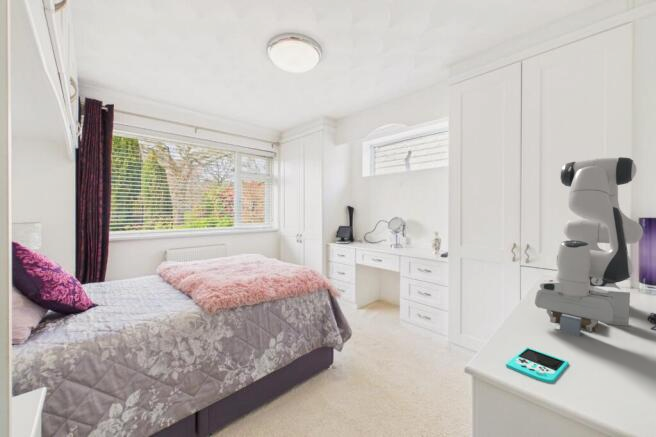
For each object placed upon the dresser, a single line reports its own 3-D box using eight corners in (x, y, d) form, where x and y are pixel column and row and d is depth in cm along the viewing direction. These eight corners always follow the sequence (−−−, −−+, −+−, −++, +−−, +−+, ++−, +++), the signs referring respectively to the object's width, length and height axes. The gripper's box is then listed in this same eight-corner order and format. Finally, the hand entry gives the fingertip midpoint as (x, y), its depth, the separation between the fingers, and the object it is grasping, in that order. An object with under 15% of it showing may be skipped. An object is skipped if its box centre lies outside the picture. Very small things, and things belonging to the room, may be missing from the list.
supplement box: (629, 326, 102) (631, 292, 101) (605, 324, 103) (607, 290, 103) (613, 318, 109) (615, 287, 109) (591, 316, 111) (592, 285, 110)
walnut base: (557, 313, 114) (557, 303, 114) (597, 322, 105) (598, 311, 105) (551, 320, 106) (552, 310, 106) (595, 331, 97) (596, 320, 97)
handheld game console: (504, 367, 74) (504, 362, 74) (526, 350, 84) (526, 345, 84) (550, 387, 66) (550, 381, 66) (568, 365, 76) (569, 360, 76)
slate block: (561, 327, 100) (562, 313, 100) (580, 332, 96) (581, 317, 96) (559, 331, 97) (560, 317, 97) (578, 336, 93) (579, 321, 93)
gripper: (615, 292, 91) (613, 334, 91) (538, 280, 106) (536, 315, 106) (615, 296, 86) (612, 340, 87) (534, 283, 101) (533, 320, 102)
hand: (570, 326), depth 97 cm, fingers open, 8 cm apart
